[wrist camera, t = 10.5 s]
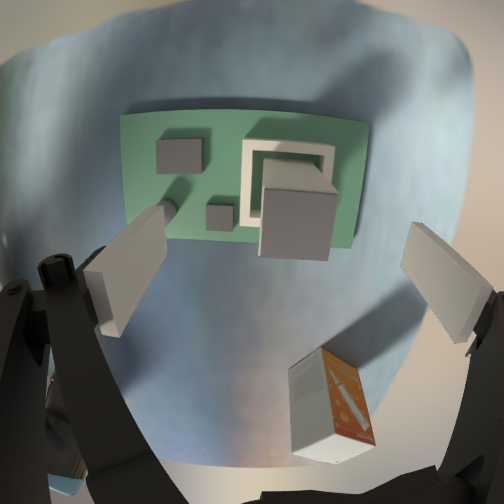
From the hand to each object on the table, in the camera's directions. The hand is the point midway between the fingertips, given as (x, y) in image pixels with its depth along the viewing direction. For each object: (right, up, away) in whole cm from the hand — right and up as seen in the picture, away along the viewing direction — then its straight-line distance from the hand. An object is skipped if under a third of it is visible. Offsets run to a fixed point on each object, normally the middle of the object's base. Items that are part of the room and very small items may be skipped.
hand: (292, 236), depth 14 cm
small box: (+8, -17, +23) cm, 29 cm away
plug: (+1, +5, +10) cm, 11 cm away
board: (-3, +6, +11) cm, 13 cm away
